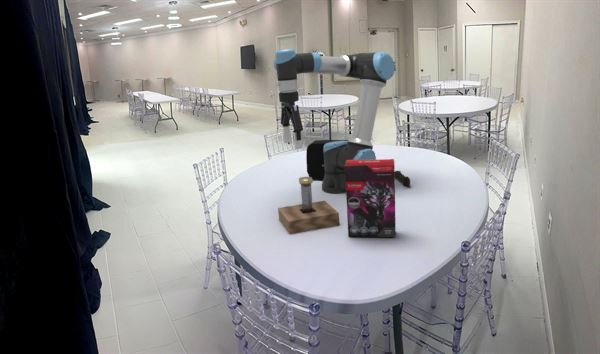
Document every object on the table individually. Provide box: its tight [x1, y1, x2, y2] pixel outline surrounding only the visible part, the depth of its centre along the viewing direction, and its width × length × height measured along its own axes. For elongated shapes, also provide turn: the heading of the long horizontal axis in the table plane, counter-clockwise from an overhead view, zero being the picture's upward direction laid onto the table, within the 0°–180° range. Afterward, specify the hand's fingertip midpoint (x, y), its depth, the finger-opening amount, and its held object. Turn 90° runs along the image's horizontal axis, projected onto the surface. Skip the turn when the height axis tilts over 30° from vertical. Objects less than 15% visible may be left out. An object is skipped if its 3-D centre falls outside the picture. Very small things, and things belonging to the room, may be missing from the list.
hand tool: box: [395, 170, 411, 189], centre depth 216 cm, size 19×4×5 cm, turn 3°
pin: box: [298, 176, 313, 214], centre depth 172 cm, size 5×5×18 cm
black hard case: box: [305, 139, 349, 182], centre depth 228 cm, size 30×12×20 cm, turn 72°
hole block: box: [277, 200, 340, 235], centre depth 174 cm, size 20×16×5 cm
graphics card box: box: [345, 158, 397, 238], centre depth 156 cm, size 17×7×27 cm, turn 79°
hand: (293, 145), depth 175 cm, fingers open, 13 cm apart
